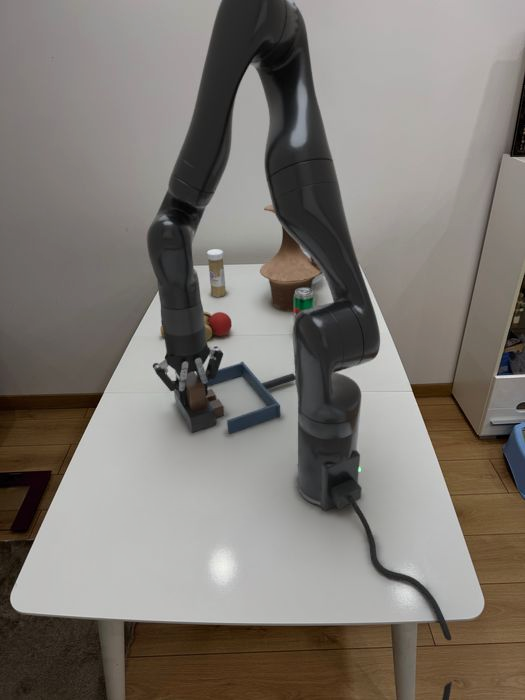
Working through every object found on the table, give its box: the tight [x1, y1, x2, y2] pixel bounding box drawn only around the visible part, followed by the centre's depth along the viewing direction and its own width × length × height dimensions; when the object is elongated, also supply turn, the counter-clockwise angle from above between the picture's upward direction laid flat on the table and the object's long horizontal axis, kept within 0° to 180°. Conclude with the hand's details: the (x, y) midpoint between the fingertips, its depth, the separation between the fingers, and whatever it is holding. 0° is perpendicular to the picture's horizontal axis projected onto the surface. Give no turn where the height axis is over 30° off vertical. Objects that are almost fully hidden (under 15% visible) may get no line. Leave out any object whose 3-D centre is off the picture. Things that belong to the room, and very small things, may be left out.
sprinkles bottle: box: [206, 248, 227, 298], centre depth 142 cm, size 5×5×14 cm
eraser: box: [173, 371, 217, 433], centre depth 96 cm, size 10×5×8 cm, turn 27°
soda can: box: [292, 288, 315, 321], centre depth 121 cm, size 5×5×12 cm
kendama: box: [159, 311, 233, 341], centre depth 124 cm, size 8×6×18 cm
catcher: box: [197, 361, 295, 434], centre depth 102 cm, size 18×19×3 cm
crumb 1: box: [206, 388, 217, 402], centre depth 101 cm, size 2×2×2 cm
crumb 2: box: [209, 398, 225, 419], centre depth 97 cm, size 2×2×2 cm
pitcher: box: [259, 204, 323, 312], centre depth 131 cm, size 18×17×28 cm
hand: (193, 399), depth 96 cm, fingers closed on eraser, 3 cm apart
